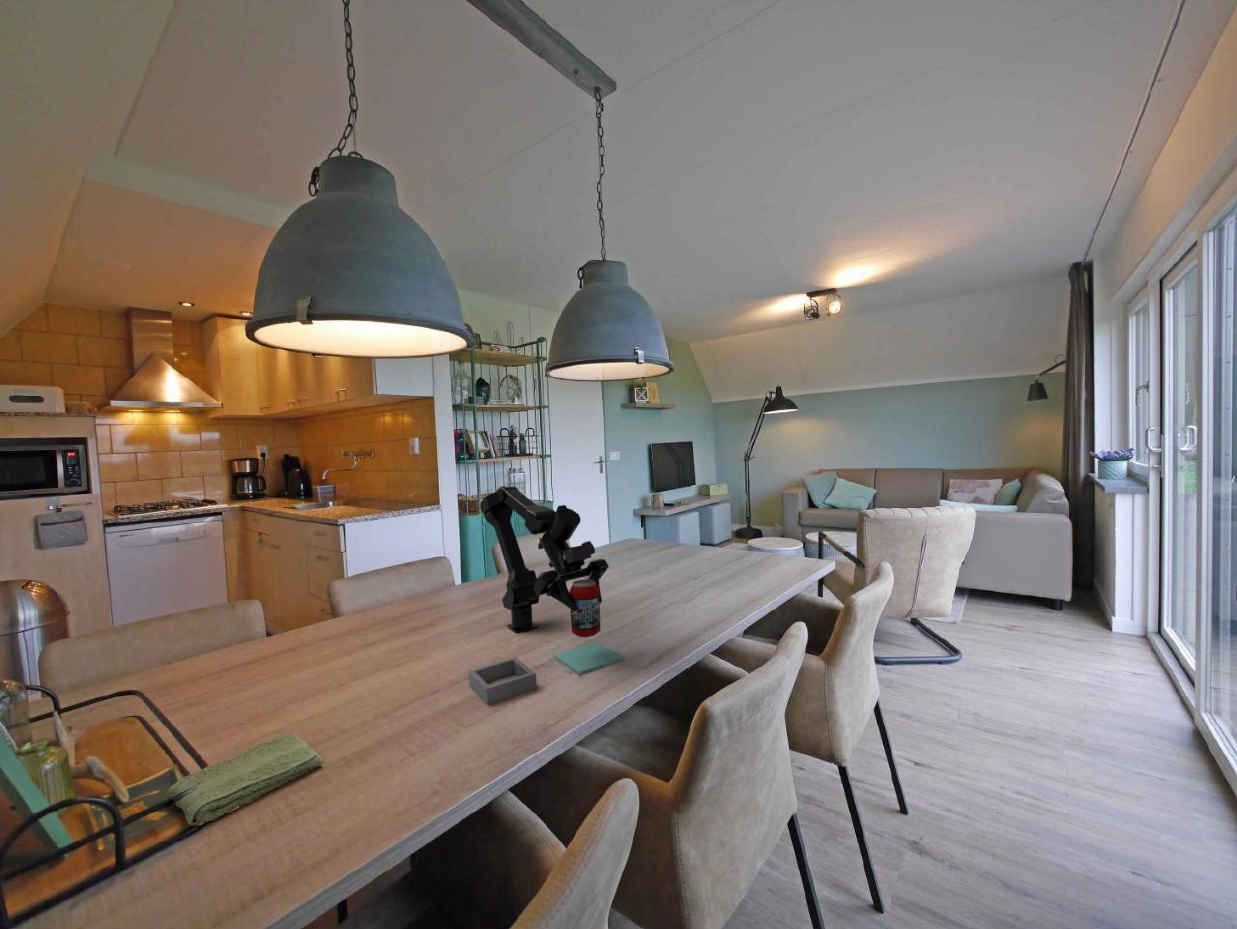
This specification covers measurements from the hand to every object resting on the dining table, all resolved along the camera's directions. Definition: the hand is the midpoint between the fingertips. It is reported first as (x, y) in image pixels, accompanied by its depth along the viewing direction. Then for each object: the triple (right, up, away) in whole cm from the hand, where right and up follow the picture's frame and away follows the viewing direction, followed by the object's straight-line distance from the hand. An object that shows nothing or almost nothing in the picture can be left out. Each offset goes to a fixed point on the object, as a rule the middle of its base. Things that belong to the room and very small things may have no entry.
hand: (588, 606), depth 119 cm
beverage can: (-1, -7, +1) cm, 7 cm away
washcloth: (-51, -17, -38) cm, 66 cm away
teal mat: (0, -12, +1) cm, 13 cm away
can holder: (-17, -14, -10) cm, 25 cm away
